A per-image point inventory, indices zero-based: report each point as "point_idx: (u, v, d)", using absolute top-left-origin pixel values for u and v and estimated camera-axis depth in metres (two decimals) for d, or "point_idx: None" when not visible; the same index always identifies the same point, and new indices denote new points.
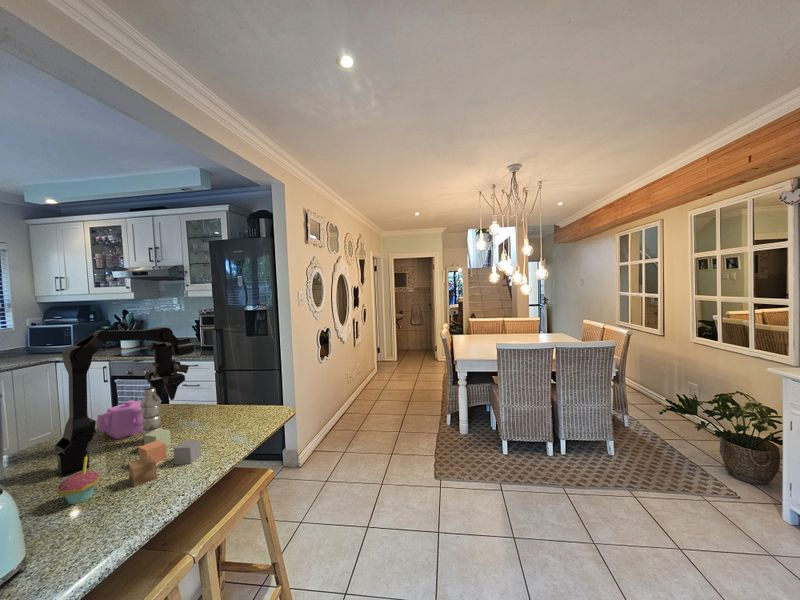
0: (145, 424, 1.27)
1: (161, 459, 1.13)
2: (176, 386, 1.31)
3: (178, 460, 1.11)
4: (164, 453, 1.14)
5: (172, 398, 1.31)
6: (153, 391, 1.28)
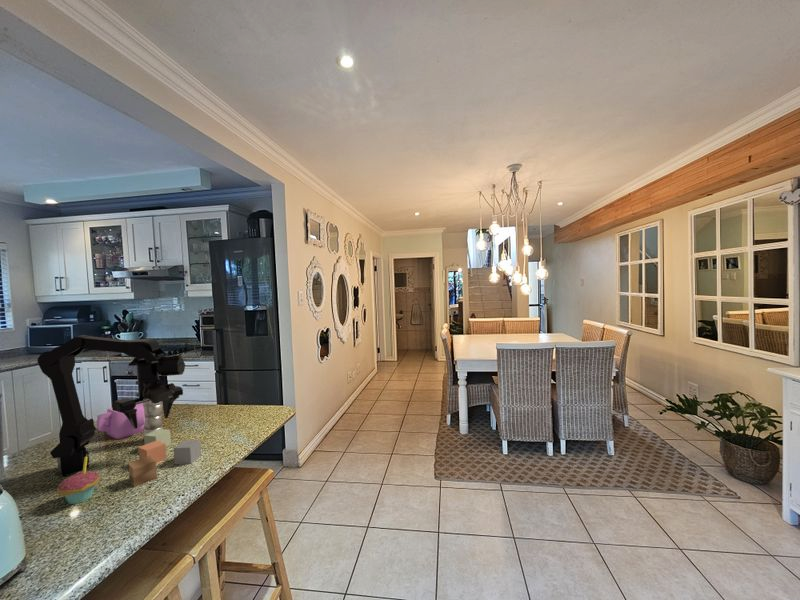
0: (146, 423, 1.27)
1: (161, 459, 1.13)
2: None
3: (178, 460, 1.11)
4: (164, 453, 1.14)
5: (134, 427, 1.09)
6: None
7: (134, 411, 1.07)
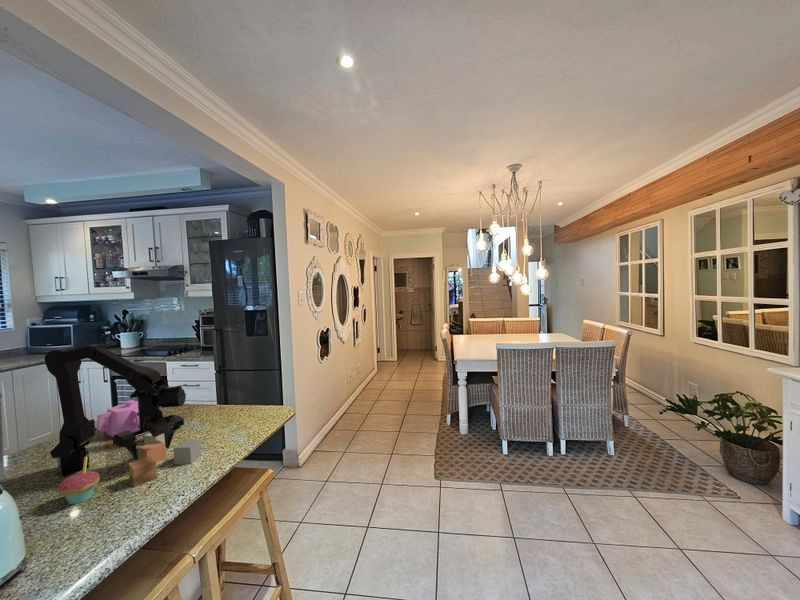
0: None
1: (161, 459, 1.13)
2: None
3: (178, 460, 1.11)
4: (164, 453, 1.14)
5: (134, 459, 1.09)
6: None
7: (134, 444, 1.07)
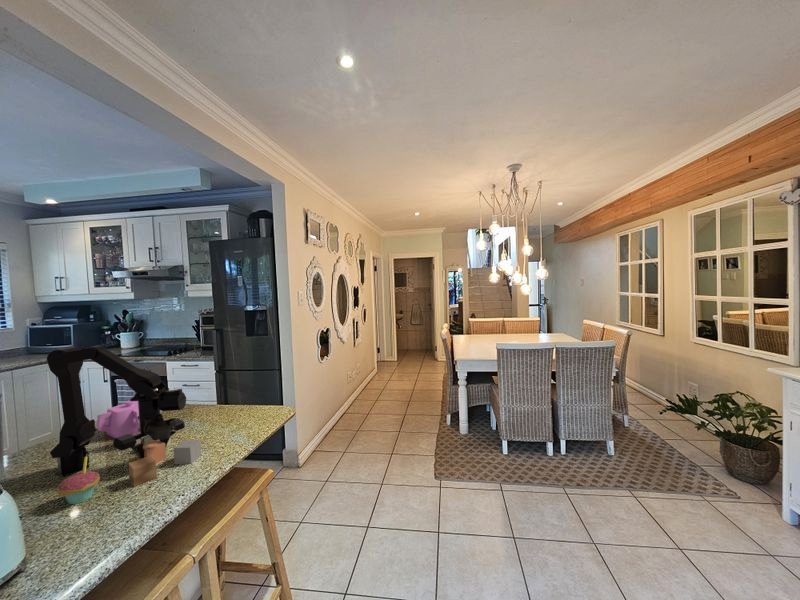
0: None
1: (161, 459, 1.13)
2: None
3: (178, 460, 1.11)
4: (164, 453, 1.14)
5: None
6: None
7: (141, 446, 1.08)
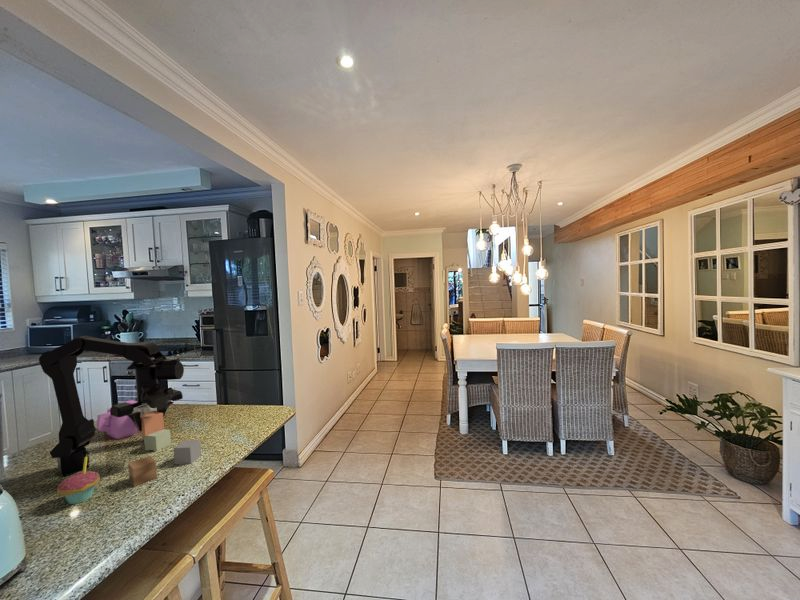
0: None
1: (159, 428, 1.12)
2: None
3: (178, 460, 1.11)
4: (162, 422, 1.13)
5: (138, 429, 1.09)
6: None
7: (138, 414, 1.07)
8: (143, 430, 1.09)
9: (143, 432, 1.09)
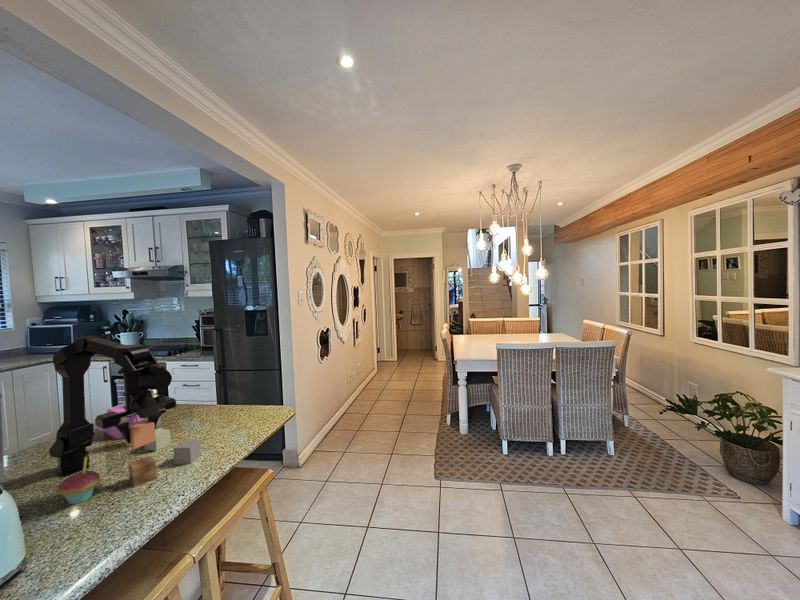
0: None
1: (150, 440, 1.02)
2: None
3: (178, 460, 1.11)
4: (153, 433, 1.02)
5: (127, 441, 0.99)
6: (155, 391, 1.28)
7: (126, 424, 0.97)
8: (132, 442, 0.98)
9: (132, 444, 0.99)
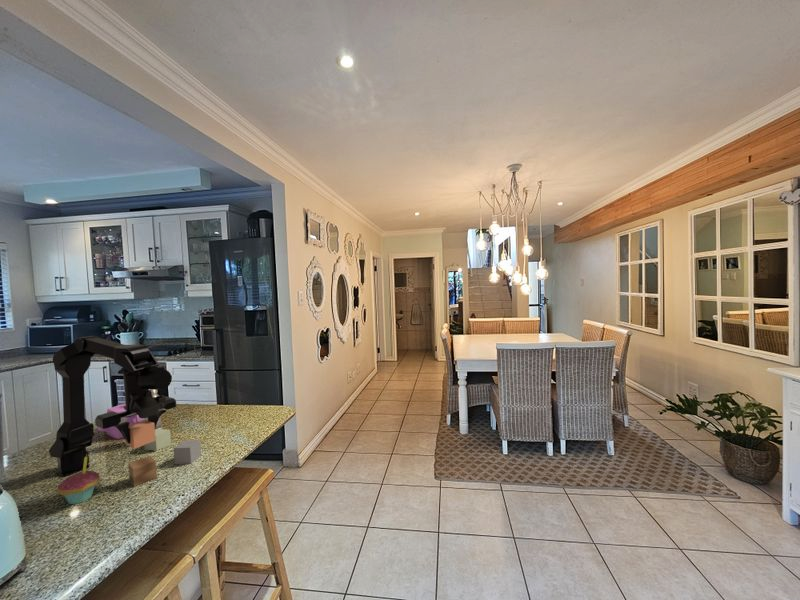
0: None
1: (150, 440, 1.02)
2: None
3: (178, 460, 1.11)
4: (153, 433, 1.02)
5: (127, 441, 0.99)
6: (155, 390, 1.29)
7: (126, 424, 0.97)
8: (132, 442, 0.98)
9: (132, 444, 0.99)
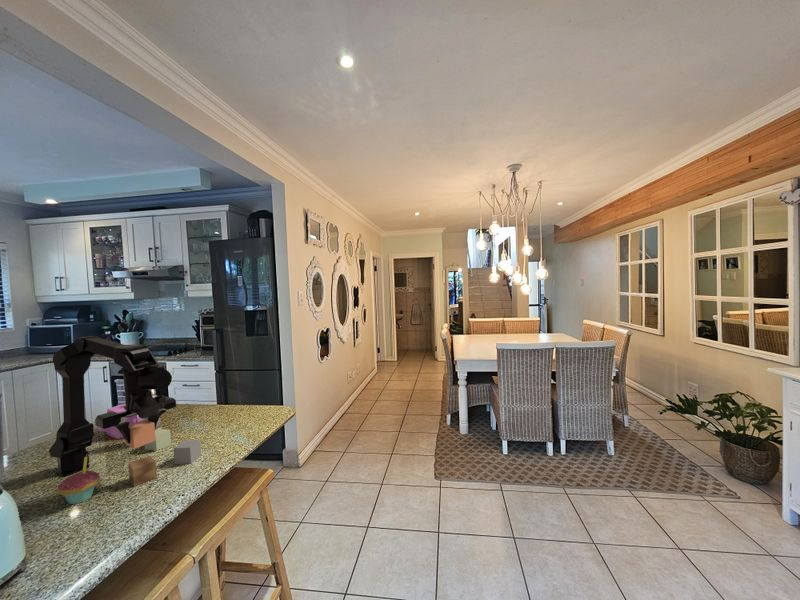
0: None
1: (150, 440, 1.02)
2: None
3: (178, 460, 1.11)
4: (153, 433, 1.02)
5: (127, 441, 0.99)
6: (153, 391, 1.28)
7: (126, 424, 0.97)
8: (132, 442, 0.98)
9: (132, 444, 0.99)
